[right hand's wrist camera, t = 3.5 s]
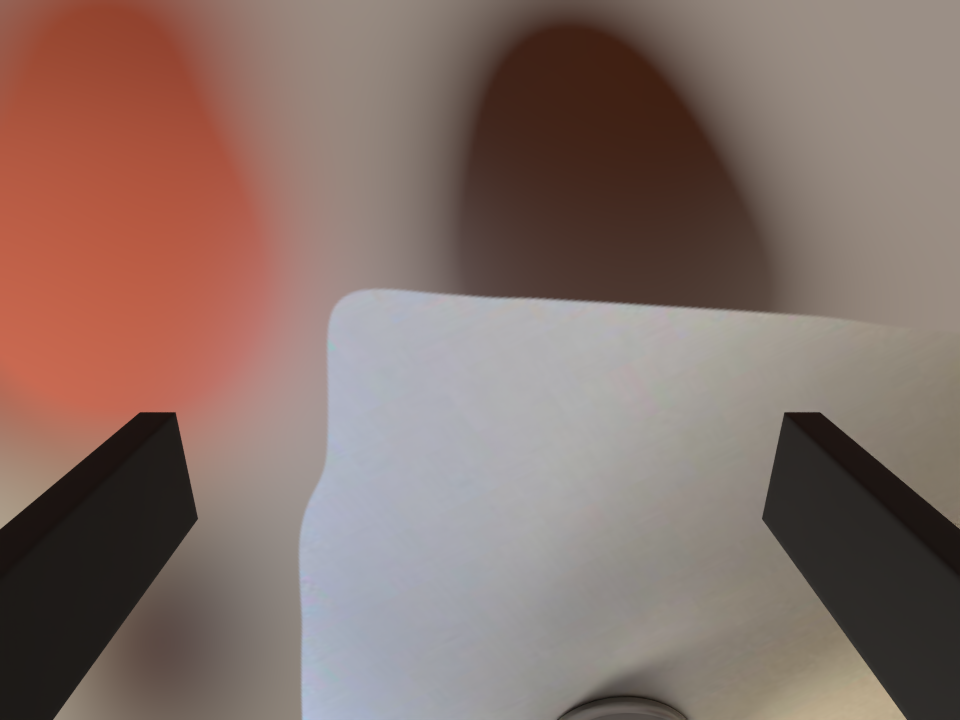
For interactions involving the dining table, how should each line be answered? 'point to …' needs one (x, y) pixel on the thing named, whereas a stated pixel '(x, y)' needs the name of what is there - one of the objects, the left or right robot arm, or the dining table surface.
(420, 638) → the dining table surface
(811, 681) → the dining table surface
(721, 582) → the dining table surface
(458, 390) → the dining table surface
